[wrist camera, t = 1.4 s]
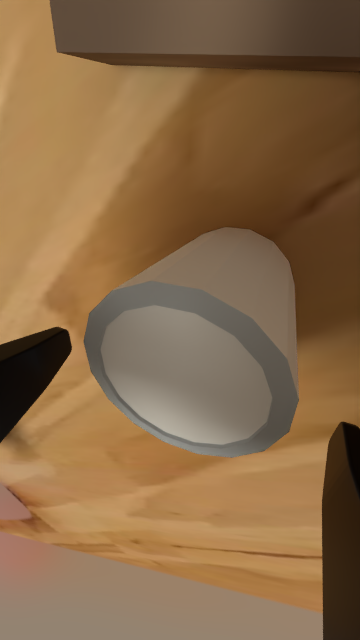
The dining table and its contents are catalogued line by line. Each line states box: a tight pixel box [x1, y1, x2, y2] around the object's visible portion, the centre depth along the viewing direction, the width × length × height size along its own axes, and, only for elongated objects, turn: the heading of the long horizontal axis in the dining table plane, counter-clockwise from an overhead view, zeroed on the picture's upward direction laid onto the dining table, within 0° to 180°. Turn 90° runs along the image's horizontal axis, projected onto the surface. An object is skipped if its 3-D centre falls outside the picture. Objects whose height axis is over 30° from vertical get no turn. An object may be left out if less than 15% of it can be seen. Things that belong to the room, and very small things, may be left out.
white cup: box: [84, 227, 299, 458], centre depth 12 cm, size 7×7×7 cm
